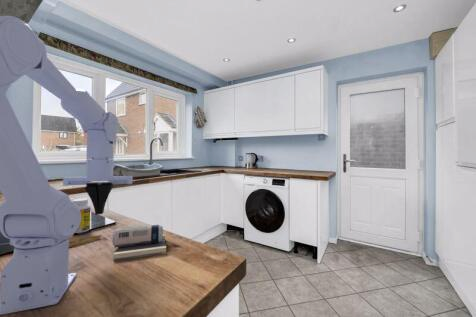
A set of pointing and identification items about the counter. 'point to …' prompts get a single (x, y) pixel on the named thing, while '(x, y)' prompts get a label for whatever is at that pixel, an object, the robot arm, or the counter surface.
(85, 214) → the supplement bottle
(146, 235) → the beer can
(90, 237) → the shard
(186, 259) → the counter surface
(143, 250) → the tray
